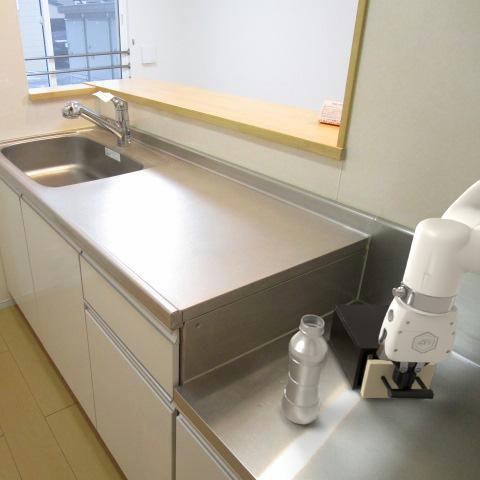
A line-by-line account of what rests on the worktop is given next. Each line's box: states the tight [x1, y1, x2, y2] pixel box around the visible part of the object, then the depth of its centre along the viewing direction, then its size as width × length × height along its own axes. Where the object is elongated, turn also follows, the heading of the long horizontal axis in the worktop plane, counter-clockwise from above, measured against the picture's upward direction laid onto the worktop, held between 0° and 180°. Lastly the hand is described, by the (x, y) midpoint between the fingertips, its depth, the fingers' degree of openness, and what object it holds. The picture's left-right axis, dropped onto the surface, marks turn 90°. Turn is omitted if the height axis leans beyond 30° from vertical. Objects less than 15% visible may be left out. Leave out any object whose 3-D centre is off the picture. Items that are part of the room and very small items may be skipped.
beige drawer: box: [358, 352, 437, 400], centre depth 84 cm, size 18×11×8 cm, turn 178°
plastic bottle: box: [281, 314, 330, 425], centre depth 76 cm, size 6×7×20 cm
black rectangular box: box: [328, 304, 391, 390], centre depth 90 cm, size 15×13×10 cm
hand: (401, 385), depth 79 cm, fingers closed
